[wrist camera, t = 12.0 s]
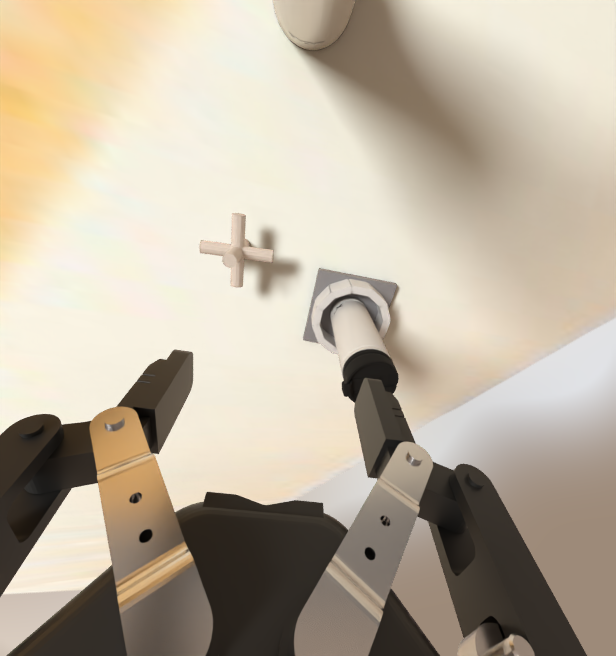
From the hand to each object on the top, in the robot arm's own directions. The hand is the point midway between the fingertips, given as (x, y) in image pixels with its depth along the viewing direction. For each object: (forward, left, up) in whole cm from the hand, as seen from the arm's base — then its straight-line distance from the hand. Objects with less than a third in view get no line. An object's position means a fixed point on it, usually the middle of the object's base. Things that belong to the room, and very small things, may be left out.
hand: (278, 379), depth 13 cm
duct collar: (+10, +11, -35) cm, 39 cm away
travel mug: (+10, +11, -34) cm, 38 cm away
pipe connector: (+2, -8, -36) cm, 36 cm away
